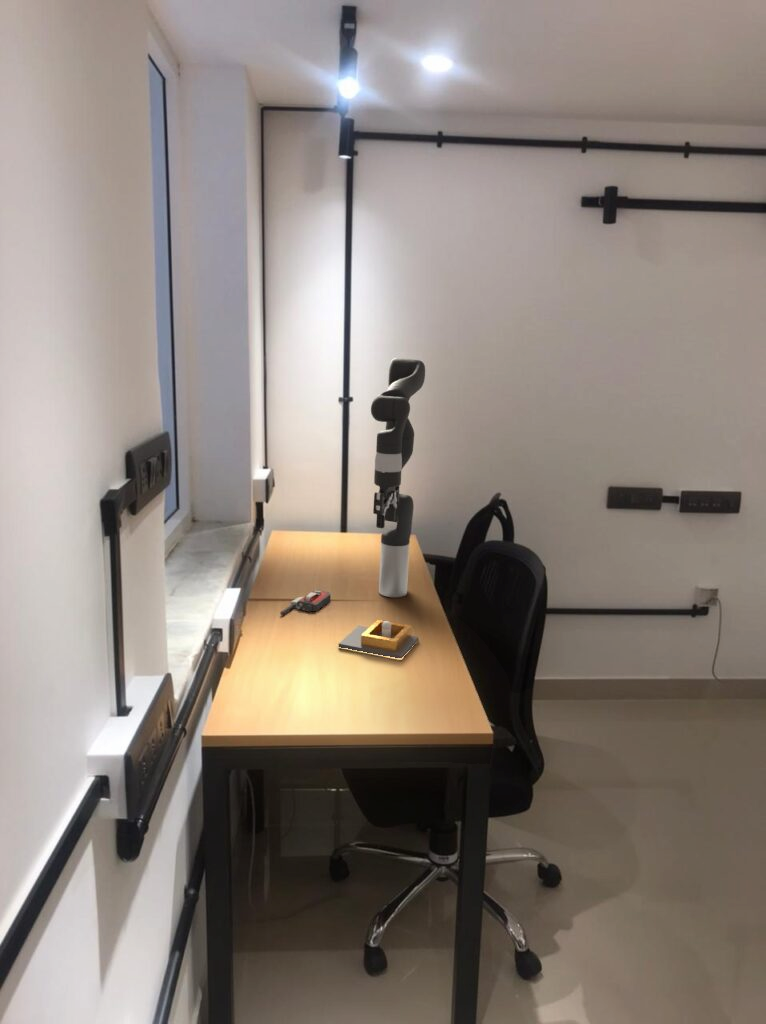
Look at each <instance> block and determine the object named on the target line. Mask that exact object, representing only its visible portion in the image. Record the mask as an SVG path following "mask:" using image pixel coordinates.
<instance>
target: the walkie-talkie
mask: <svg viewBox="0 0 766 1024" xmlns="http://www.w3.org/2000/svg"><path fill="white" fill-rule="evenodd" d="M330 602H331V592H329V591H323V590H318V589H316V590H313V591H311V592H309V593H308V594H306V595H305V596H300V597H299V596H298V597H296V598H295V599H293V600H291V601H290V605H289V606H287V607H285V608H284V609H283V610H281V611H280V615H284V614H285V613H288V611H290V610H292V609H297V610H299V611H300V610H301V609H302V611H306V610H307V611H306V612H311V611H316V612H318V611H319V610H321V609H322V608H323V607H325V606H326V605H327V604H329V603H330ZM325 604H326V605H325ZM324 605H325V606H324ZM322 606H323V607H322ZM321 607H322V608H321ZM320 608H321V609H320ZM318 609H319V610H318ZM317 610H318V611H317Z"/></svg>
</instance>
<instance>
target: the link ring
mask: <svg viewBox="0 0 766 1024" xmlns="http://www.w3.org/2000/svg"><path fill="white" fill-rule="evenodd" d="M385 621H386V620H380V619H376V621H375V622H373V624H371V625H370V626H368V627H369V628H368V629H367V630H366V631H365V632H364V633H363V634H362V635H361V646H367V647H372V648H377V649H382V650H387V651H392V652H397V651H398V649H399V648H400V647H401V646H402V645H403V644H404V643H405V642H406V641H407V640H408V638H409V637H410V636H411V634H412V626H411V625H409V624H402V623H397V622H391V621H389V622H390V623H391V635H397V636H396V637H395V638H394V639H392V638H386V637H381V636H377V635H378V634H379V633H380V632H381V633H382V624H383V622H385Z"/></svg>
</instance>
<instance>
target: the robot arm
mask: <svg viewBox="0 0 766 1024" xmlns="http://www.w3.org/2000/svg"><path fill="white" fill-rule="evenodd" d="M388 367H389V369H388V379H387V380H388V383H387V384H388V387H387V388H386V390H385V391H383V392H381V393H379V394H377V395H376V397H374V398H373V401H371V402H372V403H371V406H370V412H371V416H372V418H373V419H375V421H377V422H380V423H385V429H384V430H380V431H379V432H377V434H376V450H375V451H376V453H375V456H374V457H375V459H374V475H373V476H374V478H373V479H374V481H373V483H374V485H375V486H377V487H378V488H379V491H378V492H376V491H375V492H374V494H373V496H374V497H373V515H374V514H375V515H376V523H375V525H376V529H377V528H378V529H384V528H385V526H386V525H385V524H386V523H385V521H386V522H390V523H395V524H396V526H395V527H396V528H393V529H390V530H385V531H383V532H382V533H381V536H380V556H379V557H380V559H379V581H378V593H379V594H380V595H381V596H384V597H388V598H402V597H405V596H407V594H408V577H409V560H410V558H409V556H410V539H411V534H412V527H413V517H414V500H413V498H412V496H410V495H409V494H404V493H400V486H401V484H402V470H403V469H404V467H405V466H406V465H407V464H408V462H409V460H410V459H411V458H412V455H413V452H414V442H415V430H414V428H413V424H412V423H411V420H410V418H409V416H410V411H411V405H410V399H411V397H412V396H414V394H416V393H417V392H418V391H420V390H421V389H422V387H423V386H424V384H425V379H426V366H425V364H424V361H422V360H419V359H413V358H397V357H394V358H393V359H391V361H390V364H389V366H388Z"/></svg>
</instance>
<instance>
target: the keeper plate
mask: <svg viewBox="0 0 766 1024" xmlns="http://www.w3.org/2000/svg"><path fill="white" fill-rule="evenodd" d="M384 621H385V622H383V624H382V633H381V632H380V633H379V634H378V635H377V636H381V637H386V638H392V639H394V638H395V637H396V636H397V635H391V623H390V622H391V621H388V620H384ZM369 627H370V626H363V625H358V626H356V627H355V628H354V629H352V631H351V632H350V633H349V634H348V635H346V637H344V638H342V640H341V641H340V642H339V643H338V647H341V648H348V649H352V650H357V651H363V652H367V653H373V654H378V655H383V656H390V657H395V658H402V657H403V656H404V655H405V654H406V653H407V652H408V651H409V650H410V649H411V648H412V646H413V645H414V644H415V643H416V642H417V641H418V642H419V636H416V635H413V634H412V635H411V636H410V637H409V638H408V640H407V641H406V642H405V643H404V644H403V645H402V646H401V647H400V648H399V649H398V651H397V652H392V651H387V650H382V649H377V648H372V647H367V646H361V635H362V634H363V633H364V632H365V631H366V630H367V629H368V628H369ZM418 642H417V643H418ZM412 649H413V648H412ZM412 649H411V650H412Z"/></svg>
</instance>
